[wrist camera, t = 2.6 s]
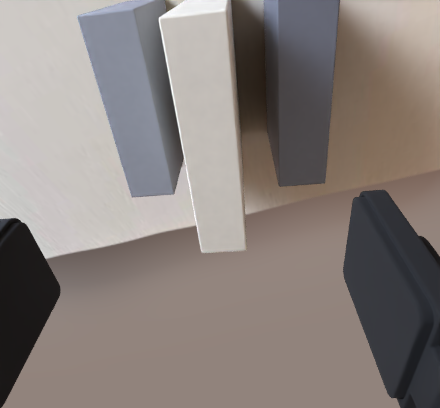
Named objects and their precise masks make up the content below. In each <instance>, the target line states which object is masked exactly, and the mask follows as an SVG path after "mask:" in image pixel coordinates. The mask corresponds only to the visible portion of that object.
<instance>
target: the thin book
mask: <svg viewBox="0 0 440 408" xmlns="http://www.w3.org/2000/svg"><path fill="white" fill-rule="evenodd" d="M159 25H160V30H161V36H162V41H163V47H164V52H165V58H166V63H167V68H168V74H169V79H170V85H171V90H172V95H173V101H174V106H175V112H176V117H177V123H178V128H179V133H180V139H181V144H182V150H183V155H184V160H185V166H186V171H187V177H188V182H189V188H190V193H191V198H192V204H193V209H194V215H195V220H196V225H197V231H198V236H199V242H200V247H201V252H202V253H212V252H213V253H214V252H231V251H246V250H247V239H246V220H245V200H244V180H243V161H242V141H241V126H240V113H239V99H238V86H237V73H236V60H235V46H234V33H233V20H232V7H231V0H185V1H184V2H182V3H181V4H179V5H178V6H176V7H175V8H173V9H171V10H170V11H168V12H167V13H165V14H164V15H162V16H161V17H159Z"/></svg>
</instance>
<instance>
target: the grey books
mask: <svg viewBox="0 0 440 408" xmlns="http://www.w3.org/2000/svg"><path fill="white" fill-rule="evenodd" d="M339 5H340V0H264V29H265V63H266V98H267V133H268V137H269V142H270V147H271V151H272V156H273V161H274V165H275V170H276V175H277V179H278V184H279V186H280V187H281V186H295V185H309V184H322V183H325V179H326V167H327V154H328V142H329V129H330V117H331V104H332V92H333V80H334V67H335V55H336V42H337V30H338V17H339ZM165 13H167V11H166V5H165V0H135V1H127V2H122V3H119V4H115V5H112V6H108V7H105V8H102V9H98V10H95V11H91V12H88V13H85V14H81V15H78V16H77V18H78V22H79V25H80V28H81V32H82V35H83V38H84V41H85V45H86V48H87V51H88V55H89V58H90V61H91V65H92V68H93V71H94V74H95V78H96V81H97V84H98V88H99V91H100V94H101V98H102V101H103V104H104V107H105V111H106V114H107V117H108V121H109V124H110V127H111V130H112V134H113V137H114V140H115V144H116V147H117V150H118V154H119V157H120V160H121V163H122V167H123V170H124V173H125V177H126V180H127V183H128V187H129V190H130V193H131V196H132V197H143V196H157V195H171V194H174V193H175V189H176V185H177V181H178V177H179V174H180V170H181V166H182V162H183V158H184V155H183V150H182V144H181V139H180V133H179V128H178V123H177V117H176V112H175V106H174V101H173V95H172V90H171V85H170V79H169V74H168V68H167V63H166V58H165V52H164V47H163V41H162V36H161V30H160V25H159V17H161V16H162V15H164V14H165Z"/></svg>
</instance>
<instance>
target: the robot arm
mask: <svg viewBox="0 0 440 408" xmlns="http://www.w3.org/2000/svg"><path fill="white" fill-rule="evenodd" d="M343 272H344V279H345V282H346V284H347V287H348V290H349V292H350V295H351V298H352V300H353V303H354V305H355V308H356V311H357V314H358V316H359V319H360V321H361V324H362V327H363V330H364V332H365V335H366V338H367V340H368V343H369V345H370V348H371V351H372V353H373V356H374V359H375V361H376V364H377V367H378V369H379V372H380V375H381V377H382V380H383V383H384V385H385V388H386V390H387V393H388V394H389V396H390V397H391V398H397V400H398V402H399V405H400V407H401V408H440V256H439V255H438V254H437V252H436V251H435V250H434V248H433V247H432V246H431V244H430V243H429V242H428V241H427V240H426V239H425V238H424V237H422V236H418V235H417V233H416V232H415V231H414V229H413V228H412V226H411V225H410V224H409V222H408V221H407V219H406V218H405V217H404V215H403V214H402V212H401V211H400V210H399V208H398V207H397V205H396V204H395V203H394V201H393V200H392V198H391V197H390V196H389V194H388V193H387V192H386V191H385V190H374V191H363V192H361V194H360V196H359V197H355V198H354V199H353V203H352V210H351V217H350V224H349V232H348V239H347V245H346V253H345V261H344V267H343ZM59 296H60V285H59V283H58V281H57V279H56V278H55V276H54V274H53V272H52V270H51V268H50V267H49V265H48V263H47V261H46V259H45V257H44V256H43V254H42V252H41V250H40V248H39V246H38V245H37V243H36V241H35V239H34V237H33V235H32V234H31V232H30V230H29V228H28V226H27V225H26V224H25V223H22V222H21V221H20V220H19V219H16V218H11V219H0V408H1V407H2V406H3V404H4V403H5V401H6V399H7V397H8V395H9V394H10V392H11V390H12V388H13V386H14V384H15V382H16V380H17V378H18V376H19V374H20V372H21V370H22V368H23V366H24V364H25V362H26V360H27V359H28V356H29V355H30V353H31V350H32V349H33V347H34V345H35V343H36V341H37V339H38V337H39V335H40V333H41V331H42V329H43V327H44V326H45V323H46V321H47V320H48V318H49V316H50V314H51V312H52V310H53V308H54V306H55V304H56V302H57V300H58V298H59Z"/></svg>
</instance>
